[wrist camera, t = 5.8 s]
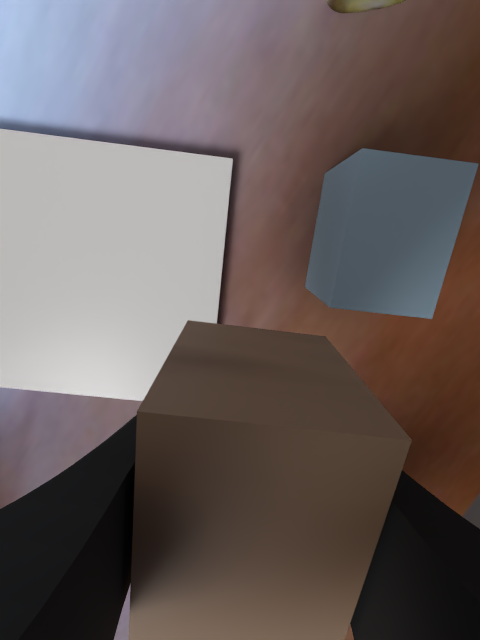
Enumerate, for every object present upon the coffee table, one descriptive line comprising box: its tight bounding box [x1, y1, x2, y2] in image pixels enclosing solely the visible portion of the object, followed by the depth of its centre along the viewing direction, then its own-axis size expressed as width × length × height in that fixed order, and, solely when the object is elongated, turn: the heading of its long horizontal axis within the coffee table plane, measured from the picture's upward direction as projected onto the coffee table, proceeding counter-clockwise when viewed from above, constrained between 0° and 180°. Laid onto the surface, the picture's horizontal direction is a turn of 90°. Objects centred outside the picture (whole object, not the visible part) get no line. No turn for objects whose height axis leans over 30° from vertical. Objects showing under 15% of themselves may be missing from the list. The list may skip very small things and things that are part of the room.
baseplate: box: [0, 129, 233, 401], centre depth 17 cm, size 14×14×1 cm
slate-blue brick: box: [305, 148, 479, 319], centre depth 14 cm, size 6×4×5 cm
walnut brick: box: [129, 320, 412, 640], centre depth 8 cm, size 6×4×5 cm
